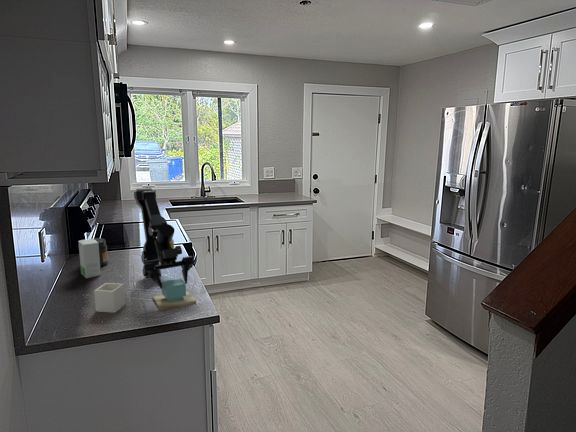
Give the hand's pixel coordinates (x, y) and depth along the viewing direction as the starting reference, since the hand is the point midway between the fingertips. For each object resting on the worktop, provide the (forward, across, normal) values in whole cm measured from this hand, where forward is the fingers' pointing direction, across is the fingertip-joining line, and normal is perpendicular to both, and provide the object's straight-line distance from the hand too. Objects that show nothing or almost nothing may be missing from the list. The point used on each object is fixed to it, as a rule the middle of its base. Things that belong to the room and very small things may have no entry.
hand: (174, 285), depth 145 cm
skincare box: (-30, -24, +39) cm, 54 cm away
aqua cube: (+3, 0, +5) cm, 6 cm away
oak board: (+4, 0, +6) cm, 7 cm away
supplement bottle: (-33, +12, +43) cm, 56 cm away
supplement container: (-39, -20, +49) cm, 66 cm away
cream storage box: (-1, -21, +10) cm, 23 cm away
